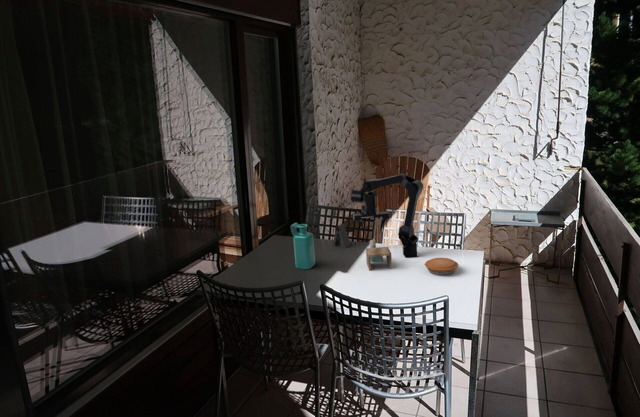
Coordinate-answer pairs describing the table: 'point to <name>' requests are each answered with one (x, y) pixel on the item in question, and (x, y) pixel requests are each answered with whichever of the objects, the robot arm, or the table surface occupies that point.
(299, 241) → the teal bottle
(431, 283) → the table surface
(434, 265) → the pie
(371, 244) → the tethered block
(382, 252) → the walnut shelf
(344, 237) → the phone stand
